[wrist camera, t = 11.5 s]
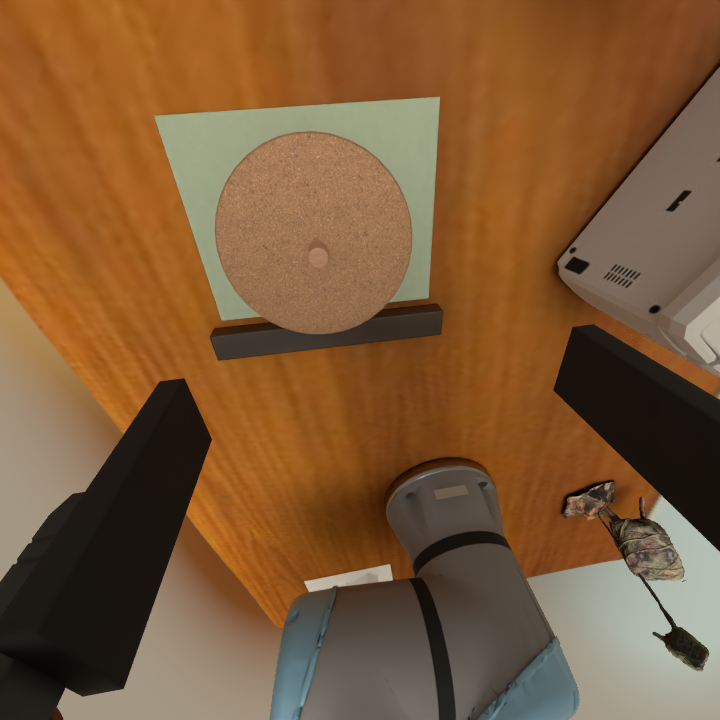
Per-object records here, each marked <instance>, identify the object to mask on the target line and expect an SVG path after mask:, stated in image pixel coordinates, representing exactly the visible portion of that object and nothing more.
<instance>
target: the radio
mask: <svg viewBox="0 0 720 720" xmlns="http://www.w3.org/2000/svg"><path fill="white" fill-rule="evenodd" d="M557 265H558V267H559V273H558V274H559V276H560V277H561V279H562V280H563V281H564V282H565V283H566V284H567V285H568V287H569V288H570V289H571V290H572V291H573V292H575V293H576V294H577V295H578V296H579V297H581V298H582V299H583V300H584V301H586V302H587V303H589V304H590V305H592V306H593V307H595V308H596V309H598V310H600V311H601V312H603V313H605V314H607V315H608V316H610V317H612V318H614V319H615V320H617V321H619V322H621V323H622V324H624V325H626V326H628V327H630V328H631V329H633V330H635V331H637V332H638V333H640V334H642V335H644V336H645V337H647V338H649V339H651V340H653V341H654V342H656V343H658V344H660V345H661V346H663V347H665V348H667V349H669V350H670V351H672V352H674V353H676V354H677V355H679V356H681V357H683V358H684V359H686V360H688V361H690V362H692V363H693V364H695V365H697V366H699V367H700V368H702V369H704V370H706V371H708V372H710V373H711V374H713V375H715V376H718V377H720V67H719V68H718V69H717V70H716V71H715V73H714V74H713V75H712V76H711V77H710V79H709V80H708V81H707V82H706V83H705V85H704V86H703V87H702V88H701V89H700V91H699V92H698V93H697V94H696V95H695V97H694V98H693V99H692V100H691V101H690V103H689V104H688V105H687V106H686V108H685V109H684V110H683V111H682V112H681V114H680V115H679V116H678V117H677V118H676V120H675V121H674V122H673V123H672V124H671V126H670V127H669V128H668V129H667V130H666V132H665V133H664V134H663V135H662V136H661V138H660V139H659V140H658V141H657V142H656V144H655V145H654V146H653V147H652V148H651V150H650V151H649V152H648V153H647V154H646V156H645V157H644V158H643V159H642V160H641V162H640V163H639V164H638V165H637V166H636V168H635V169H634V170H633V171H632V173H631V174H630V175H629V176H628V177H627V179H626V180H625V181H624V182H623V183H622V185H621V186H620V187H619V188H618V189H617V191H616V192H615V193H614V194H613V195H612V197H611V198H610V199H609V200H608V201H607V203H606V204H605V205H604V206H603V207H602V209H601V210H600V211H599V212H598V213H597V215H596V216H595V217H594V218H593V219H592V221H591V222H590V223H589V224H588V225H587V227H586V228H585V229H584V230H583V231H582V233H581V234H580V235H579V236H578V237H577V239H576V240H575V241H574V242H573V244H572V245H571V246H570V247H569V248H568V250H567V251H566V252H565V253H564V254H563V256H562V257H561V258H560V259H559V260H558V262H557Z"/></svg>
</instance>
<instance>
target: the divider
mask: <svg viewBox="0 0 720 720" xmlns="http://www.w3.org/2000/svg"><path fill="white" fill-rule="evenodd" d="M442 316H443V310H442V309H441V308H440V307H439V305H438V304H431V305H422V306H413V307H404V308H395V309H386V310H381V311H379V312H378V313H377V314H376V315H374V316H373V317H372V318H370V319H369V320H367V321H365V322H364V323H362V324H360V325H358V326H356V327H353V328H350V329H348V330H345V331H341V332H336V333H330V334H306V333H300V332H295V331H291V330H288V329H285V328H282V327H280V326H278V325H276V324H274V323H272V322H269V323H260V324H251V325H242V326H233V327H224V328H215V329H214V330H213V332H212V334H211V336H210V339H211V342H212V345H213V348H214V350H215V353H216V356H217V359H218V360H219V361H220V360H228V359H236V358H245V357H253V356H262V355H270V354H279V353H287V352H296V351H304V350H313V349H321V348H330V347H338V346H347V345H355V344H364V343H372V342H381V341H389V340H398V339H406V338H415V337H423V336H432V335H440V334H441V327H442Z"/></svg>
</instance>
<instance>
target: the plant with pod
mask: <svg viewBox="0 0 720 720" xmlns="http://www.w3.org/2000/svg"><path fill="white" fill-rule="evenodd" d="M615 485H616V482H610V483H605V484H602V485H600V486H596V487H594V488H592V489H591V490H590V491H589V492H588V493H583V494H582V495H581V496H577V497H569V498H568V499H567V501H569V502H568V503H566V504H567V505H568V506H567V507H566V509H567V510H566V511H564V512H565V514H563V515H562V517H564V518H566V517H568V516H571V515H580V516H584V517H585V518H586V519H587V520H591V519H594V518H596V517H598V516H599V518H600V515H602V514H603V515H604V516H605V518H606V519H607V522H608V524H609V526H610V528H611V532H612V533H611V532H610V529H609V528H608V527H607V526H606V524H605V523H604V522H603V521H602V519H601V518H600V520H601V521H602V522H603V524H604V525H605V527H606V528H607V529H608V531H609V533H610V534H611V536H612V537H613V539H614V542H615V545H616V546H617V548H618V550H619V551H620V552H621V554H622V556H623V558H624V560H625V562H626V564H627V566H628V567H629V569H630V570H631V572H632V573H633V574H634V575H636V576H638V577H640V578H641V579H642V581H643V583H644V584H645V586H646V587H647V588H648V590H649V591H650V593H651V594H652V595H653V597H654V598H655V600H656V601H657V602H658V604H659V606H660V609H661V610H662V612H663V613H664V615H665V617H666V619H667V620H668V622H669V623H670V625H671V627H672V630H671V632H670V633H668V634H665V635H666V636H661V635H660V634H658V633H656V632H653V635H654V636H657V637H658V638H659V639H660V640H662V641H663V642H664V643H665V646H666V648H667V649H668V651H669V652H671V653H672V655H674V656H675V657H677V658H679V659H680V660H681V661H682V662H683V663H685V664H686V665H688V666H689V667H691V668H692V669H694V670H696V671H702V670H703V667H704V665H705V662H707V660H708V656H709V651H708V649H707V648H706V647H705V646H704V645H702V644H701V643H700V642H698V641H697V640H696V639H695V638H694V637H693V636H692V635H690V634H689V633H688V632H687V631H686V630H684V629H683V628H681V627H677V626H676V624H675V623H674V621H673V619H672V617H671V616H670V615H669V614H668V613H667V611H666V610H665V609H664V608H663V607H662V605H661V603H660V601H659V599H658V598H657V596H656V595H655V593H654V592H653V590H652V589H651V587H650V586H649V585H648V583H647V582H646V581H645V579H646V580H671V581H677V580H679V579H681V578H683V577H684V572H685V571H684V568H683V566H682V562H681V560H680V558H679V555H678V554H677V552H676V550H675V549H674V547H673V544H672V543H671V541H670V537H669V536H668V534H667V533H666V531H665V530H664V529H663V528H662V527H661V526H660V525H658V523H656V522H654V521H651V520H650V519H646V514H645V509H644V499H643V497H640V499H639V505H640V506H639V510H640V517H641V519H629V518H626V519H620V518H619V517H618V516H617V515H615V514H614V513H613V512H612V511H611V510H610V509H609V508H608V507H607V506H608V505H610V504H611V503H613V502H612V501H613V499H615V498H613V492H614V489H615V487H614V486H615ZM610 502H611V503H610ZM684 581H686V580H683V581H682V582H684Z"/></svg>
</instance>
